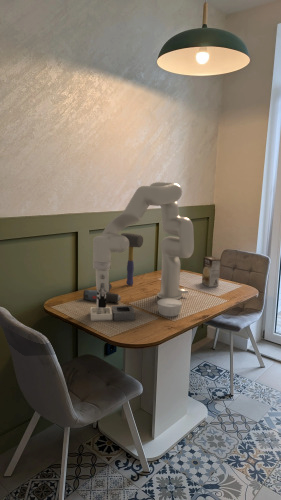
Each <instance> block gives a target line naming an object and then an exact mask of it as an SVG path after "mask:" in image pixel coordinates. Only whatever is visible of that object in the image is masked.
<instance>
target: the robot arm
mask: <svg viewBox="0 0 281 500" xmlns="http://www.w3.org/2000/svg"><path fill="white" fill-rule="evenodd" d="M182 194H183V190H182V186H180V184H178V183H176V182H163V181H160V182H159V181H158V182H157V181H156V182H153V183H151V184H150V185H142V186H139V187H137V189H136V190H135V192H134V193H133V195H132V197H131V198H130V200H129V202H128V203H127V206H126V207H125V209H124V210H123V211H122V212H121V213H120V214H118V215H117V216H116V217H113V219H112V220H111V221H109V222H108V223H107V225H106V227H105V228H104V230H103V231H102V233H101V235H95V236H94V237H93V241H92V248H93V249H92V269H93V270H95V283H96V284H95V285H96V289H97V295H98V294H99V298H98V307H99V308H103V307H107V302H106V292H107V293H108V292H110V291H109V283H110V282H109V281H110V280H109V277H110V275H109V270H111V269H112V253H123V252H124V253H125V252H126V251H127V250H129V240H128V239H127V238H126V237H125V236H123V235H121V234H119V233H120V232H121V231H122V230H124V229H125V228H128V227H130V226H133V225H136V224H137V223H140V222H141V220H142V219H143V217H144V215H145V213H146V212H147V209H148V208H149V206H154V207H160V210H161V223H162V225H161V226H162V229H163V232H164V233H165V234H167V235H169V236H166V237H163V239H162V240H161V242H160V251H161V252H160V253H161V274H160V275H161V276H160V277H161V278H160V291H159V292H157V295H156V296H157V297H158V299H164V298H170V299H176V300H180V299H182V295H183V294H185V295H186V294H187V295H188V294H189V290H188V289H185V288H182V289H181V288H180V283H181V282H180V280H181V279H180V278H181V277H180V276H181V260H180V258H181V259H189V258H191V256H192V255H193V254H194V249H195V241H194V240H195V239H194V238H195V237H194V224H193V222H192V220H191V219H190V218H188V217H185V216H180V211H179V210H180V208H179V204H178V201H179V200H180V198H181V197H182ZM170 235H171V236H170Z"/></svg>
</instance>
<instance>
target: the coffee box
mask: <svg viewBox="0 0 281 500" xmlns="http://www.w3.org/2000/svg"><path fill="white" fill-rule="evenodd" d="M221 260H222V259H220V258H217V257H215V256H203V264H202V275H201V277H202V278H201V283H202V284H203V285H205V286H207V287H209V288H212V287H213V288H214V287H218V286H219V285H220V284H219V281H220V270H221Z"/></svg>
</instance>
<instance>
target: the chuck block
mask: <svg viewBox="0 0 281 500" xmlns="http://www.w3.org/2000/svg"><path fill="white" fill-rule="evenodd" d="M111 310H112V321H114V322H118V321H119V322H121V321H124V322H126V321H135V319H136V316H135V315H136V312H135V309H134V308H133V305H112V306H111Z"/></svg>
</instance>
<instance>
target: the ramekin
mask: <svg viewBox="0 0 281 500" xmlns="http://www.w3.org/2000/svg"><path fill="white" fill-rule="evenodd" d="M156 302H157V303H156V304H157V311H158V312H159V314H160V315H162V316H164V317H177V316H179V315H180V312H181V308H182V304H183V303H182V301H181V300H180V299H178V300H176V299H170V298H164V299H161V298H159V300H157V301H156Z"/></svg>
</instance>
